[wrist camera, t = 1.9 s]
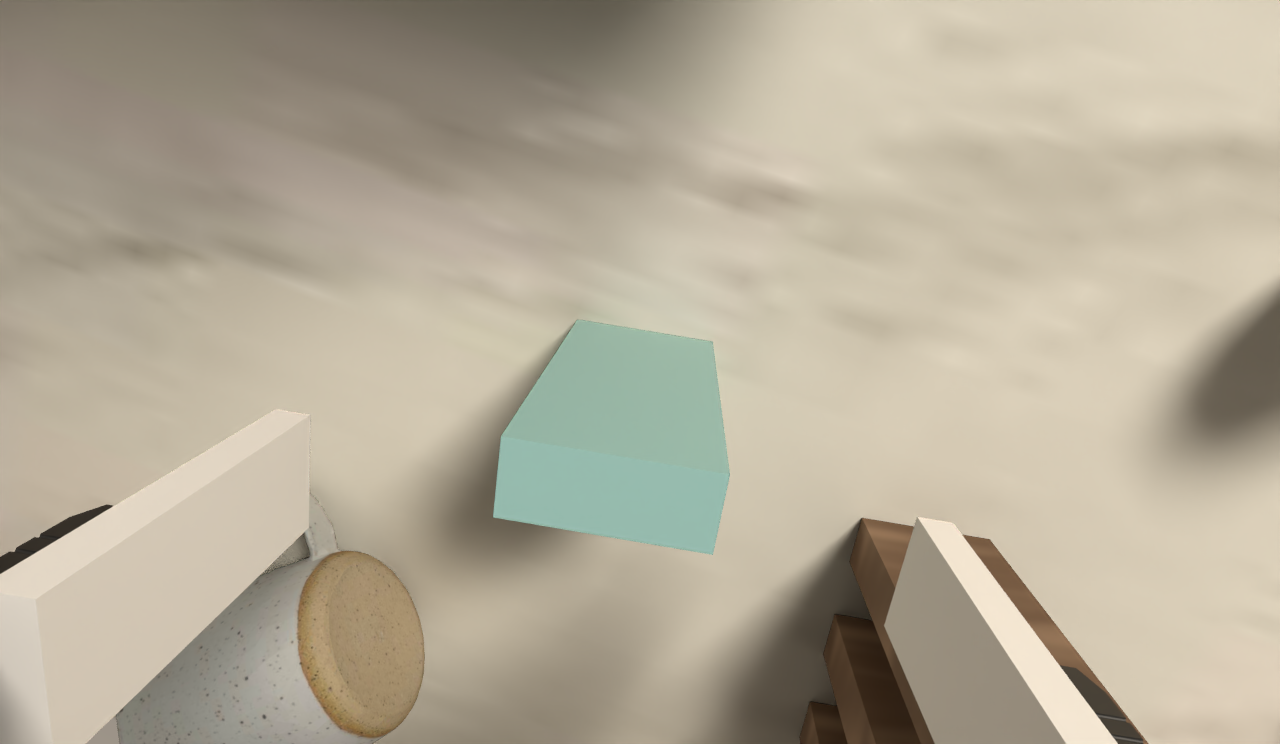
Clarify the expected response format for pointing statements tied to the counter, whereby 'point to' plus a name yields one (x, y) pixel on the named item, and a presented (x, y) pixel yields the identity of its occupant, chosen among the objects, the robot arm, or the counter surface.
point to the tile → (620, 441)
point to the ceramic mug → (293, 659)
